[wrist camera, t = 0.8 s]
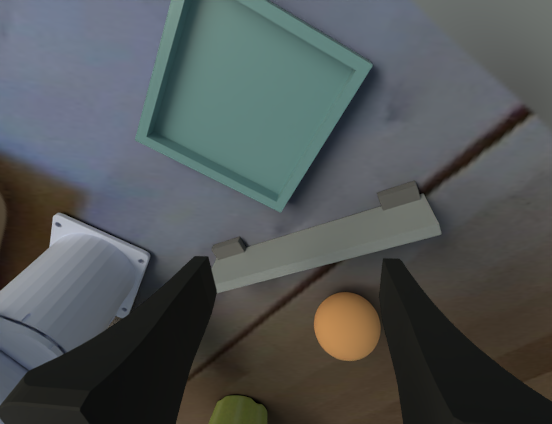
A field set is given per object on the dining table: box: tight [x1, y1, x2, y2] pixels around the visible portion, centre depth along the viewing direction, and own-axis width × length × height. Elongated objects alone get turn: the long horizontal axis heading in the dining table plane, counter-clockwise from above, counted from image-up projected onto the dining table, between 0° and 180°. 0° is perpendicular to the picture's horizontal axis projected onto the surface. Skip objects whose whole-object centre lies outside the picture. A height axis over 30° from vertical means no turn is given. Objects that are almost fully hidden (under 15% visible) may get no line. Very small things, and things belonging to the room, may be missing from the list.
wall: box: [211, 181, 442, 293], centre depth 23 cm, size 16×3×4 cm, turn 115°
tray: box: [135, 0, 373, 213], centre depth 19 cm, size 10×10×2 cm
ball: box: [314, 292, 381, 361], centre depth 25 cm, size 5×5×5 cm
